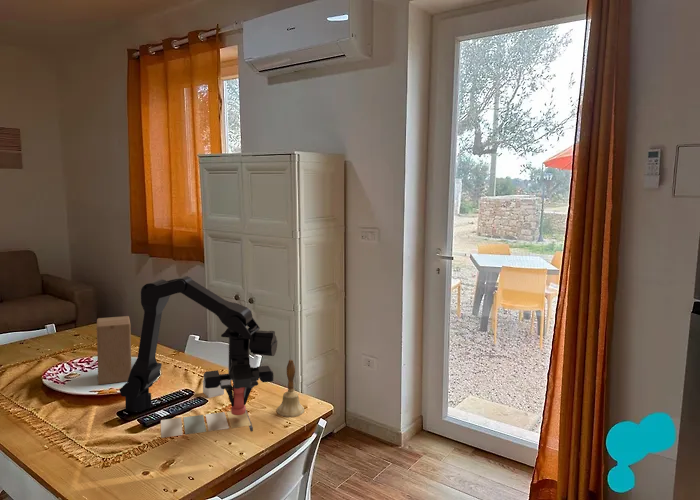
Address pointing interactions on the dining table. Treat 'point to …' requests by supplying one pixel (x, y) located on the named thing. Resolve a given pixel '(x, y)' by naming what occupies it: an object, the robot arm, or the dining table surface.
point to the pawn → (238, 401)
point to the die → (212, 391)
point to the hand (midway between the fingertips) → (238, 405)
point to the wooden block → (113, 349)
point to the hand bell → (290, 396)
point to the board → (203, 423)
